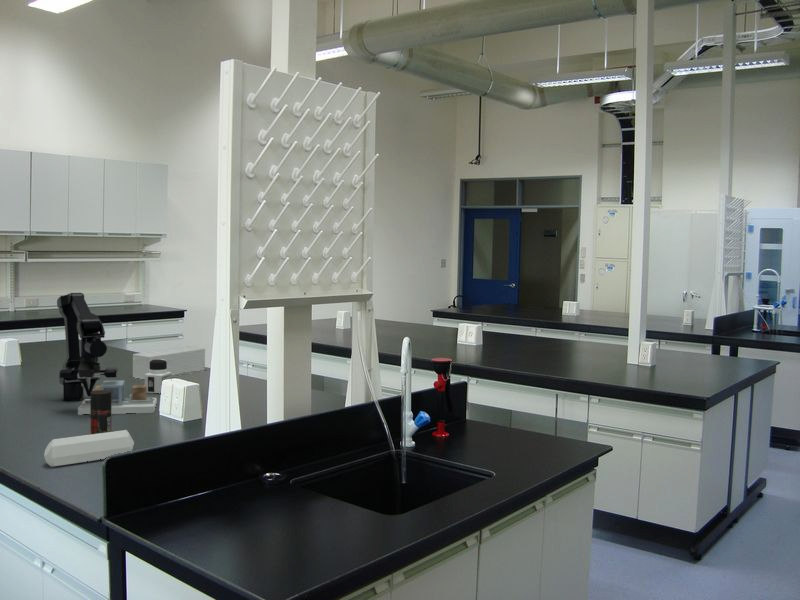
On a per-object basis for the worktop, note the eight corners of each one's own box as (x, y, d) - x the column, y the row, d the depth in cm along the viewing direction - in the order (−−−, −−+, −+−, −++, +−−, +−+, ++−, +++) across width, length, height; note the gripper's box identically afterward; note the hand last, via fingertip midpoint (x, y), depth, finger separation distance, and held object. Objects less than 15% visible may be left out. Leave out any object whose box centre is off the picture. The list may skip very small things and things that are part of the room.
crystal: (128, 435, 215) (40, 447, 201) (134, 428, 210) (44, 439, 196) (132, 459, 213) (43, 473, 199) (138, 453, 208) (47, 466, 193)
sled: (94, 402, 256) (94, 388, 256) (96, 399, 261) (96, 385, 261) (151, 401, 261) (152, 387, 261) (153, 398, 266) (153, 384, 266)
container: (161, 394, 287) (161, 362, 286) (144, 392, 289) (144, 360, 288) (171, 390, 295) (171, 359, 294) (154, 389, 296) (154, 357, 295)
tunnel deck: (78, 415, 251) (77, 387, 250) (84, 405, 265) (84, 379, 264) (153, 413, 257) (153, 386, 257) (156, 404, 271) (156, 378, 270)
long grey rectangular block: (189, 368, 345) (189, 346, 344) (204, 371, 339) (205, 348, 338) (132, 378, 318) (132, 354, 317) (148, 381, 312) (149, 356, 311)
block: (132, 400, 260) (132, 387, 259) (133, 397, 264) (133, 385, 264) (145, 399, 261) (145, 387, 261) (146, 397, 265) (146, 384, 265)
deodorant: (94, 437, 225) (94, 389, 224) (113, 437, 226) (113, 390, 224) (87, 442, 219) (87, 394, 218) (107, 442, 220) (107, 394, 218)
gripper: (56, 356, 247) (56, 401, 248) (114, 356, 251) (114, 400, 253) (62, 351, 257) (62, 394, 259) (118, 351, 262) (118, 394, 263)
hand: (89, 396), depth 258 cm, fingers closed
